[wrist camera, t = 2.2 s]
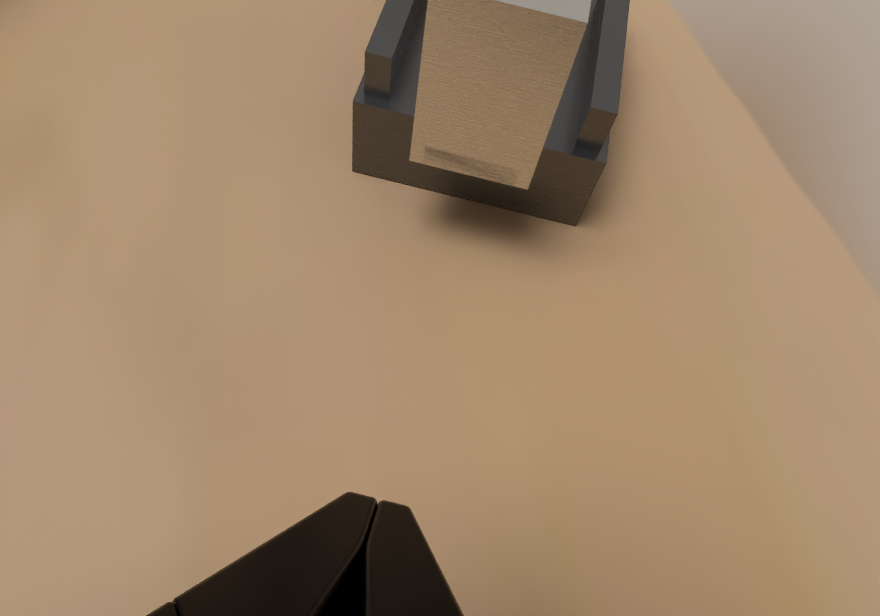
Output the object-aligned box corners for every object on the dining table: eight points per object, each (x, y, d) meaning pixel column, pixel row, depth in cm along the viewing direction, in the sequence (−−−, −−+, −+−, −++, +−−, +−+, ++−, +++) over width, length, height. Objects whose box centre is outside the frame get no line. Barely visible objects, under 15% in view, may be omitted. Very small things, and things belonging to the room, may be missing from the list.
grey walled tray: (575, 225, 29) (624, 125, 24) (352, 171, 29) (353, 59, 24) (601, 36, 36) (644, -75, 30) (419, -8, 36) (431, -126, 30)
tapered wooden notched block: (527, 189, 24) (587, 22, 18) (409, 160, 24) (429, -16, 18) (560, 18, 29) (615, -157, 23) (462, -6, 29) (492, -187, 23)
